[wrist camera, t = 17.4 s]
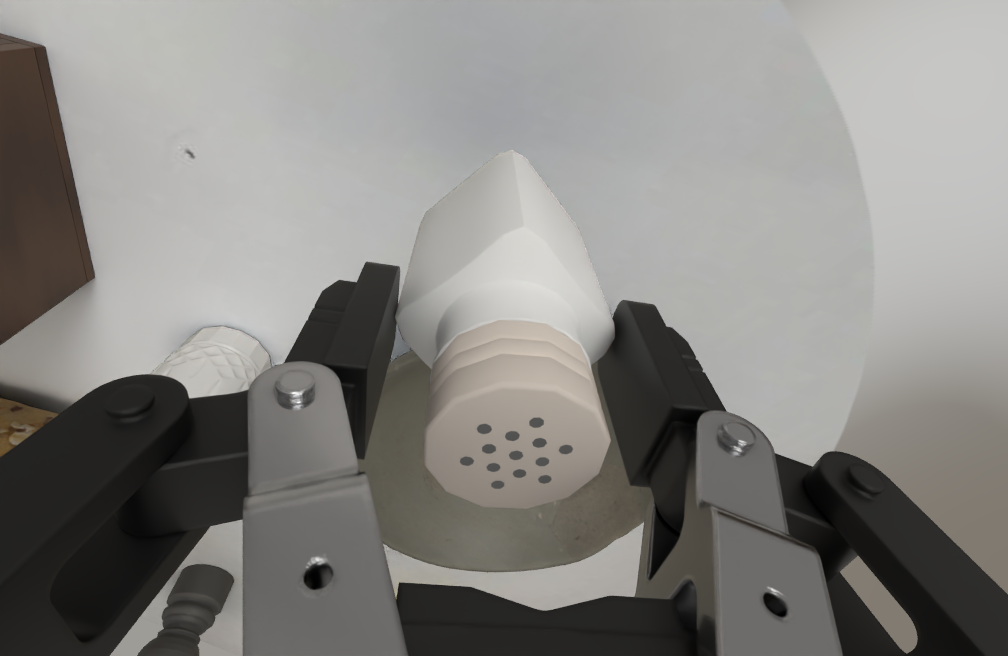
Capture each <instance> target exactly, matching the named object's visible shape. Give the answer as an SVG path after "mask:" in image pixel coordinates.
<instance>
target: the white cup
mask: <svg viewBox="0 0 1008 656" xmlns="http://www.w3.org/2000/svg"><path fill="white" fill-rule="evenodd" d="M269 368H271V362H270V357H269V354H268V353H267V352H266V350H265V349H264V348H263V347H262V345H261V344H260V343H259V342H258V341H257V340H255V339H254V338H252V337H251V336H249V335H247V334H246V333H244V332H242V331H239V330H236V329H232V328H228V327H224V326H218V327H207V328H203V329H201V330H200V331H198V332H196V333H195V334H193V335H192V336H190V337H189V338H188V339H187V340H186V341H185V342H184V343H183V344H182V345H181V346H180V347H179V349H177V350H176V351H174V352H173V353H172V354H171V355H170V356H169V357H168V358H167V359H166V360H164V362H163V363H161V364H160V365H159V366H158V367H157V368H156V369H155V370H154V371H153V372H152V373H151V374H154V375H163V376H167V377H171V378H173V379H176V380H177V381H179V382H181V383H182V384H183V385H184V386H185V388H186V389H187V392H188V395H189V398H197V397H206V396H215V395H223V394H231V393H237V392H241V391H245V390H248V389H249V387H250V385H251V383H252V382H253V380H254V379H255V378H256V377H257V376H258V375H260V374H261V373H262V372H264V371H266V370H267V369H269Z"/></svg>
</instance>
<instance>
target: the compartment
mask: <svg viewBox="0 0 1008 656" xmlns="http://www.w3.org/2000/svg"><path fill="white" fill-rule="evenodd" d="M94 277H95V276H94V272H93V267H92V263H91V258H90V253H89V249H88V244H87V240H86V235H85V230H84V226H83V221H82V217H81V212H80V207H79V203H78V198H77V194H76V189H75V184H74V180H73V175H72V171H71V166H70V161H69V157H68V152H67V148H66V143H65V138H64V134H63V129H62V125H61V120H60V115H59V111H58V106H57V102H56V97H55V92H54V88H53V83H52V79H51V74H50V69H49V65H48V60H47V56H46V51H45V47H44V46H42V45H39V44H35V43H32V42H28V41H25V40H21V39H18V38H14V37H11V36H7V35H3V34H0V345H1V344H3V343H4V342H6V341H7V340H8V339H10V338H11V337H12V336H14V335H15V334H17V333H18V332H19V331H21V330H22V329H24V328H25V327H26V326H28V325H29V324H31V323H32V322H33V321H35V320H36V319H38V318H39V317H40V316H42V315H43V314H44V313H46V312H47V311H49V310H50V309H51V308H53V307H54V306H56V305H57V304H58V303H60V302H61V301H63V300H64V299H65V298H67V297H68V296H70V295H71V294H72V293H74V292H75V291H76V290H78V289H79V288H81V287H82V286H83V285H85V284H86V283H87V282H89V281H90V280H92V279H93V278H94Z"/></svg>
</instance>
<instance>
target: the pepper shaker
mask: <svg viewBox="0 0 1008 656" xmlns="http://www.w3.org/2000/svg"><path fill="white" fill-rule="evenodd" d="M395 319H396V322H397V325H398V327H399V330H400V333H401V336H402V338H403V340H404V341H405V342H406V343H407V344H408V345H409V346H410V347H411V349H412V350H413V351H414V352H415V353H416V354H417V355H418V356H419V357H420V358H421V360H422V361H423V362H424V363H425V364H426V365H428V366H429V367H430V368H431V374H430V389H429V400H428V404H427V411H426V418H425V425H424V442H423V464H424V466H425V467H426V468H427V469H428V471H429V472H430V473H431V474H432V475H433V477H434V478H435V479H436V480H437V481H438V483H439V484H440V485H441V486H442V487H443V489H444V490H445V491H446V492H448V493H450V494H453V495H455V496H458V497H460V498H463V499H465V500H467V501H470V502H472V503H475V504H477V505H480V506H482V507H495V508H518V509H528V508H532V507H535V506H539V505H542V504H546V503H550V502H553V501H557V500H560V499H564V498H568V497H569V496H570V495H572V494H573V493H574V492H576V491H577V490H578V489H580V488H581V487H582V486H584V485H585V484H586V483H588V482H589V481H590V480H591V479H593V478H594V477H595V476H597V475H598V474H599V472H600V469H601V466H602V463H603V461H604V458H605V455H606V453H607V450H608V447H609V445H610V442H611V439H610V435H609V431H608V428H607V424H606V420H605V417H604V413H603V410H602V408H601V407H602V406H601V402H600V399H599V395H598V393H597V388H596V384H595V380H594V377H593V373H592V369H591V365H592V364H594V363H595V362H596V361H597V360H599V359H600V358H601V357H603V356H604V355H605V353H606V352H607V350H608V349H609V347H610V345H611V344H612V342H613V340H614V339H615V326H614V321H613V318H612V316H611V313H610V311H609V308H608V305H607V303H606V300H605V297H604V295H603V292H602V290H601V287H600V284H599V282H598V279H597V276H596V274H595V271H594V269H593V266H592V263H591V261H590V258H589V255H588V253H587V250H586V248H585V245H584V242H583V240H582V237H581V234H580V232H579V229H578V227H577V226H576V224H575V223H574V222H573V220H572V219H571V218H570V216H569V215H568V214H567V212H566V211H565V210H564V208H563V207H562V206H561V204H560V203H559V202H558V200H557V199H556V198H555V196H554V195H553V194H552V192H551V191H550V190H549V188H548V187H547V186H546V184H545V183H544V181H543V180H542V179H541V177H540V176H539V175H538V173H537V172H536V171H535V169H534V168H533V167H532V165H531V164H530V163H529V161H528V160H527V159H526V158H525V157H524V156H522V155H520V154H518V153H517V152H515V151H513V150H510V151H507V152H503V153H500V154H497V155H496V156H494V157H493V158H492V159H491V160H489V161H488V162H487V163H486V164H484V165H483V166H482V167H481V168H480V169H478V170H477V171H476V172H475V173H473V174H472V175H471V176H470V177H469V178H467V179H466V180H465V181H464V182H462V183H461V184H460V185H459V186H458V187H456V188H455V189H454V190H453V191H451V192H450V193H449V194H448V195H446V196H445V197H444V198H443V199H442V200H440V201H439V202H438V203H437V204H435V205H434V206H433V207H432V208H431V209H429V210H428V211H427V212H426V213H425V215H424V217H423V219H422V221H421V223H420V226H419V230H418V234H417V237H416V241H415V245H414V248H413V252H412V256H411V260H410V263H409V267H408V271H407V274H406V278H405V282H404V285H403V289H402V293H401V296H400V300H399V304H398V307H397V311H396V315H395Z"/></svg>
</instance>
